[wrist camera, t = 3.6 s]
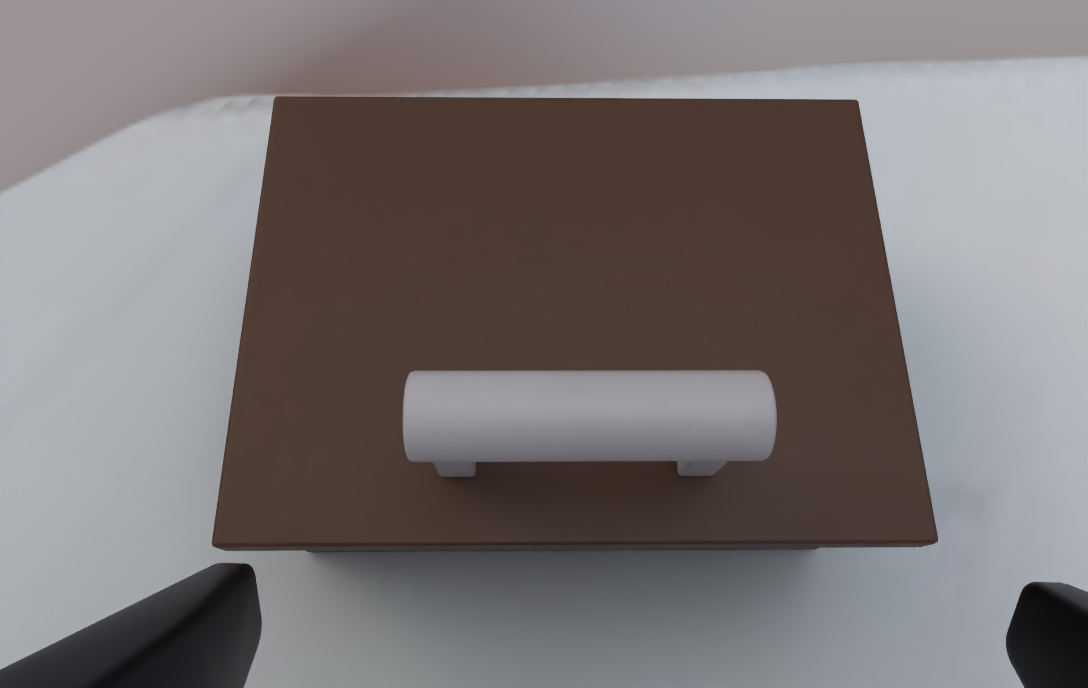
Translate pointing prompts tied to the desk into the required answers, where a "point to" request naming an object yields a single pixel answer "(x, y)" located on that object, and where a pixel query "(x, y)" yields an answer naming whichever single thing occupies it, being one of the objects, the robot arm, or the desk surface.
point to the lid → (569, 331)
